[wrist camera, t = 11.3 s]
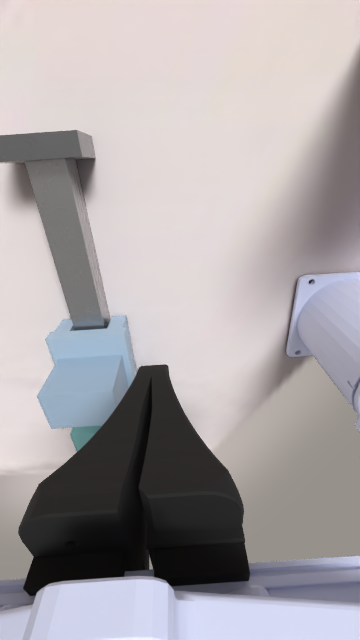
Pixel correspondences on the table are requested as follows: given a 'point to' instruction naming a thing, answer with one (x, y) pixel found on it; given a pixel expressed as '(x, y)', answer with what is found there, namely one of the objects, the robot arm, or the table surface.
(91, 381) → the carriage
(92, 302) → the rail
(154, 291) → the table surface
